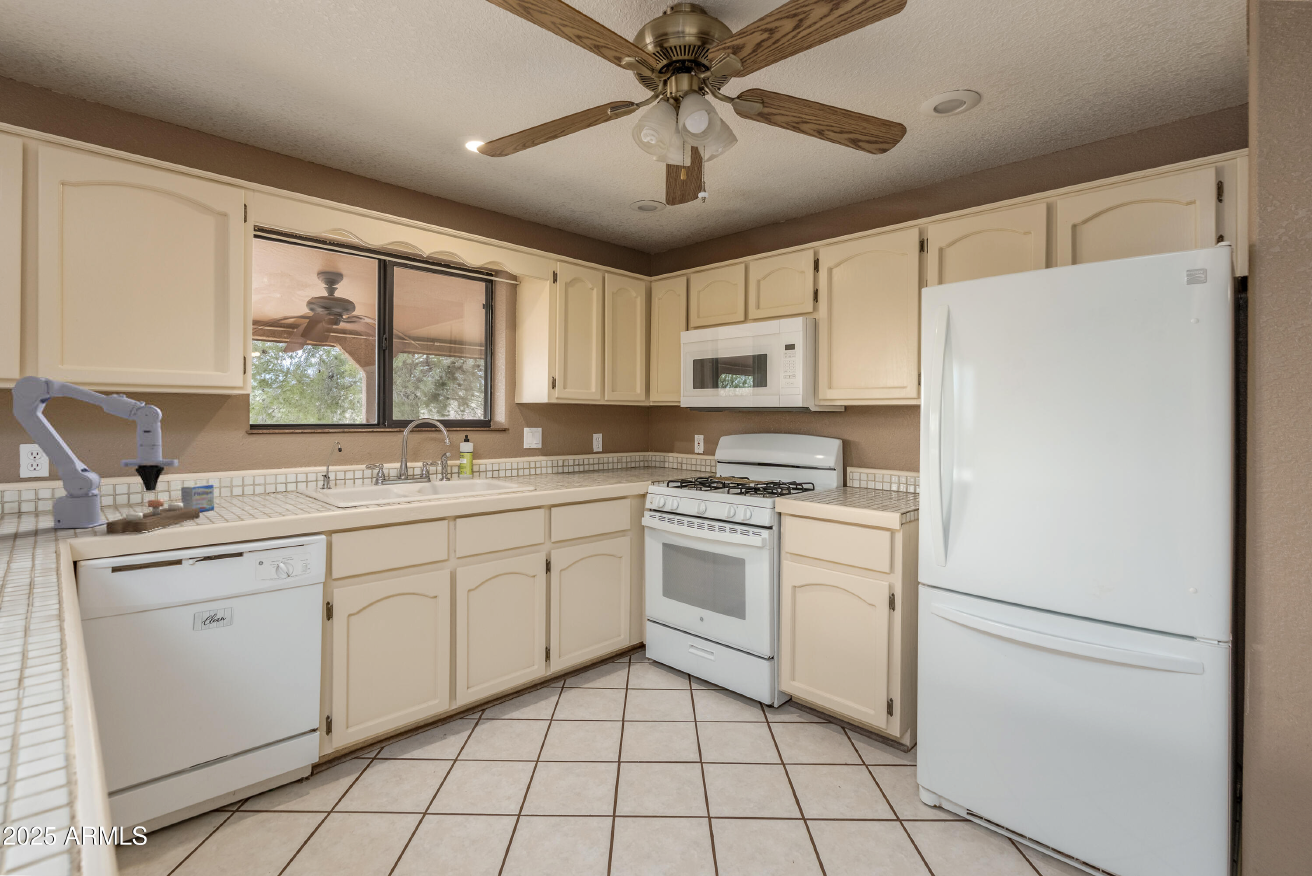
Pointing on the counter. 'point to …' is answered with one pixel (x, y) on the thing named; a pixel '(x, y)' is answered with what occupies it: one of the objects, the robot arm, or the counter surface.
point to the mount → (153, 520)
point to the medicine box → (198, 497)
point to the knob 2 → (175, 506)
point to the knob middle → (156, 505)
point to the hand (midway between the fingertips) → (150, 490)
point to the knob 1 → (134, 516)
